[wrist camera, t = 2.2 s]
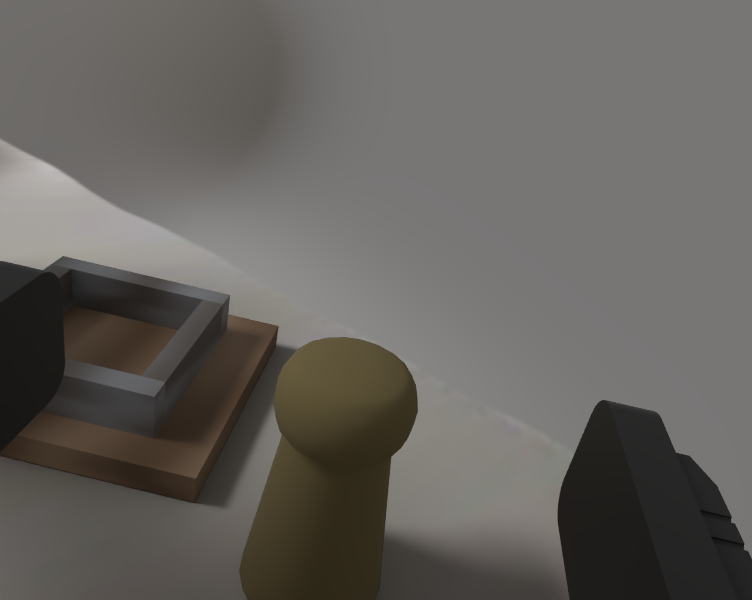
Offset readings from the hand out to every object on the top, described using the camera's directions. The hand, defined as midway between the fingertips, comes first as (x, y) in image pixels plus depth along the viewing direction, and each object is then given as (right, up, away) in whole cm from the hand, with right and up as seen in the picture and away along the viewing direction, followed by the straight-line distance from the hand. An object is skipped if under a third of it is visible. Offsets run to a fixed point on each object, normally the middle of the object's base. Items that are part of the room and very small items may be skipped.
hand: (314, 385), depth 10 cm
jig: (-14, -3, +27) cm, 30 cm away
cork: (-2, -11, +18) cm, 21 cm away
